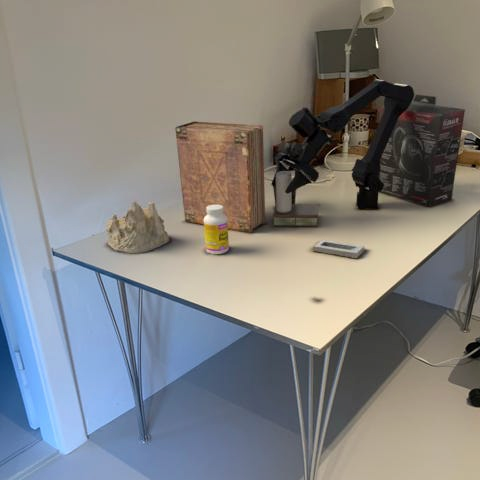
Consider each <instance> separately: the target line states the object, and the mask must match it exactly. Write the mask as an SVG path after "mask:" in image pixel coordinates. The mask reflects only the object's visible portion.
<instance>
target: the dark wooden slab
mask: <svg viewBox="0 0 480 480" xmlns="http://www.w3.org/2000/svg"><path fill="white" fill-rule="evenodd" d="M319 213H320V203H295V204H292V210H291V211H290V212H288V213H279V212H277V210H276V206H274V209H273V212H272V217H273V226H274V227H277V228H280V227H281V228H283V227H284V228H285V227H287V228H291V227H292V228H317V227H318V226H319V225H318V224H319Z"/></svg>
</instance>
